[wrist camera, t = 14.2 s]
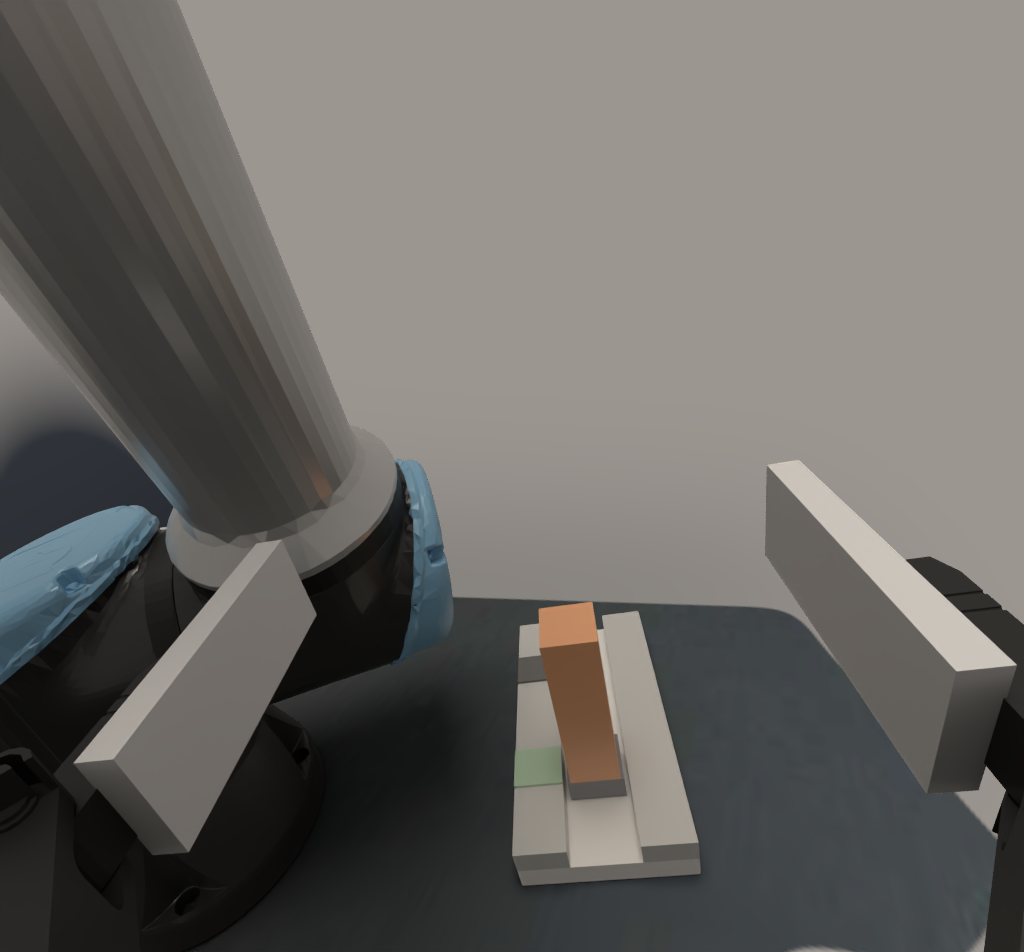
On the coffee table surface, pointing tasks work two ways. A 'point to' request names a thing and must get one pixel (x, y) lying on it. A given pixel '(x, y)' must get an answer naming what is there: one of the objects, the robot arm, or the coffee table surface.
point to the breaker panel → (607, 820)
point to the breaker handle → (580, 701)
